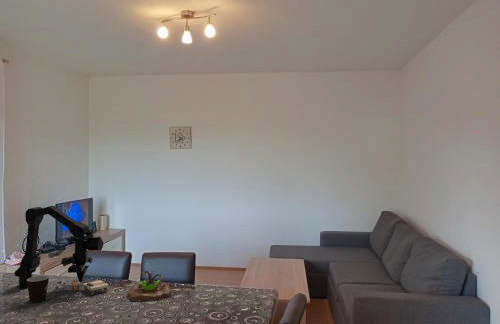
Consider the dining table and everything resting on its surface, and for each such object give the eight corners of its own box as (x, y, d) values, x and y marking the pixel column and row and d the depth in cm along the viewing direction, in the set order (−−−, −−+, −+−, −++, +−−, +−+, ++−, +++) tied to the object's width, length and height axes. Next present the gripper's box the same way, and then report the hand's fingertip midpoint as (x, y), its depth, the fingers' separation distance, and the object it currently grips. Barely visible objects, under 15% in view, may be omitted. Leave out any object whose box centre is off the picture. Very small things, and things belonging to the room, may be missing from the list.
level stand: (69, 290, 177) (69, 280, 177) (95, 284, 186) (95, 275, 186) (80, 298, 166) (80, 287, 166) (108, 291, 175) (108, 281, 175)
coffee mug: (38, 305, 159) (38, 282, 159) (21, 303, 160) (22, 280, 161) (57, 295, 170) (58, 274, 170) (41, 294, 172) (42, 273, 172)
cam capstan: (49, 291, 175) (49, 280, 175) (59, 287, 180) (59, 276, 180) (71, 294, 171) (71, 282, 171) (80, 289, 177) (80, 278, 177)
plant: (128, 289, 180) (128, 266, 180) (168, 285, 185) (168, 263, 185) (126, 304, 160) (126, 278, 161) (172, 299, 166) (172, 274, 166)
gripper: (70, 246, 190) (70, 276, 189) (56, 255, 171) (56, 288, 171) (92, 246, 191) (92, 275, 191) (81, 254, 172) (81, 287, 172)
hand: (80, 281), depth 181 cm, fingers closed
